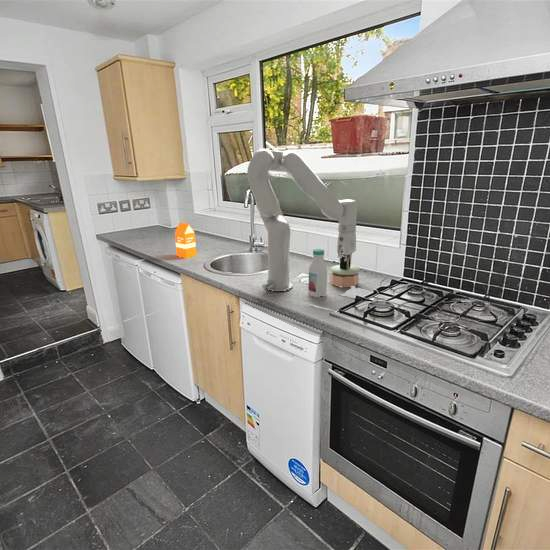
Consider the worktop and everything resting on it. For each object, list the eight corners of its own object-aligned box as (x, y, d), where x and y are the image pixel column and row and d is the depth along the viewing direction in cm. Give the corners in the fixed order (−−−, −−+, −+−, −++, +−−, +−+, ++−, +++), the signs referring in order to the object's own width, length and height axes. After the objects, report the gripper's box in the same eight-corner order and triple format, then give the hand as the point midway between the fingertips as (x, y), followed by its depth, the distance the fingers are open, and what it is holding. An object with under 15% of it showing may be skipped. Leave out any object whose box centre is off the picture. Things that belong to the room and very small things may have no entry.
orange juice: (186, 258, 211) (183, 224, 205) (176, 256, 216) (173, 223, 210) (196, 256, 217) (194, 223, 211) (187, 253, 222) (184, 221, 216)
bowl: (350, 289, 159) (350, 278, 157) (326, 285, 166) (326, 274, 164) (361, 282, 168) (361, 272, 166) (338, 278, 175) (338, 268, 174)
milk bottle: (324, 291, 158) (326, 247, 152) (327, 298, 151) (329, 252, 145) (307, 292, 158) (308, 247, 152) (309, 298, 151) (310, 252, 144)
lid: (351, 276, 156) (352, 262, 154) (325, 271, 164) (325, 258, 162) (364, 269, 166) (365, 256, 164) (338, 264, 173) (339, 252, 171)
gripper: (346, 232, 150) (344, 274, 156) (362, 226, 163) (360, 265, 169) (330, 230, 155) (329, 271, 161) (347, 224, 167) (345, 262, 173)
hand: (345, 267), depth 164 cm, fingers closed on lid, 3 cm apart
